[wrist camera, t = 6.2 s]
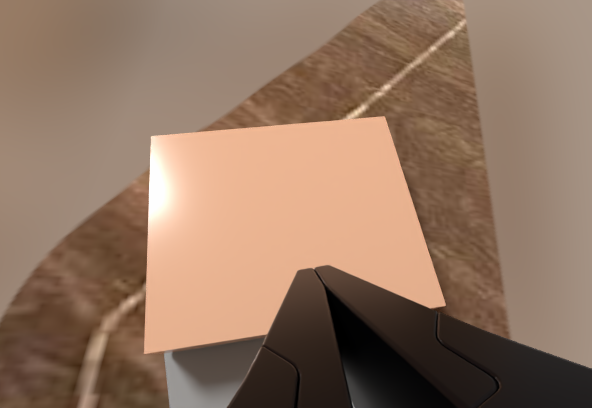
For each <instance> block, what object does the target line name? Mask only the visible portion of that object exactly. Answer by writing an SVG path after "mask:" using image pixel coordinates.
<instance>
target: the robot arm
mask: <svg viewBox="0 0 592 408" xmlns="http://www.w3.org/2000/svg"><path fill="white" fill-rule="evenodd" d="M351 400H352V401H351ZM352 402H353V405H354V407H355V408H592V369H591V368H588V367H586V366H583V365H580V364H577V363H574V362H571V361H569V360H566V359H563V358H560V357H557V356H554V355H552V354H549V353H546V352H543V351H540V350H537V349H534V348H532V347H529V346H526V345H523V344H520V343H517V342H515V341H512V340H509V339H507V338H504V337H501V336H498V335H496V334H493V333H490V332H487V331H485V330H482V329H480V328H477V327H475V326H472V325H470V324H467V323H465V322H463V321H460V320H458V319H455V318H453V317H451V316H448V315H446V314H444V313H441V312H439V313H437V311H435V310H433V309H430V308H428V307H426V306H423V305H421V304H419V303H416V302H414V301H412V300H409V299H407V298H405V297H403V296H400V295H398V294H396V293H393V292H391V291H389V290H386V289H384V288H382V287H379V286H377V285H375V284H372V283H370V282H368V281H365V280H363V279H361V278H358V277H356V276H354V275H351V274H349V273H347V272H344V271H342V270H340V269H337V268H335V267H333V266H330V265H324V266H318V267H315V268H314V269H313V268H307V269H301V270H298V271H297V272H296V275H295V277H294V279H293V281H292V283H291V285H290V287H289V289H288V291H287V293H286V296H285V298H284V300H283V302H282V304H281V306H280V308H279V310H278V312H277V314H276V316H275V319H274V321H273V323H272V325H271V327H270V329H269V331H268V333H267V335H266V337H265V340H264V342H263V344H262V346H261V348H260V349H259V351H258V353H257V355H256V357H255V359H254V361H253V363H252V365H251V367H250V369H249V371H248V373H247V375H246V376H245V378H244V380H243V382H242V384H241V385H240V387H239V388H238V390H237V392H236V393H235V395H234V396H233V398H232V400H231V401H230V403H229V404H228V406H227V408H353V405H352Z"/></svg>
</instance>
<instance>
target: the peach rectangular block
mask: <svg viewBox="0 0 592 408" xmlns="http://www.w3.org/2000/svg"><path fill="white" fill-rule="evenodd" d="M324 265H330V266H333V267H335V268H337V269H340V270H342V271H344V272H347V273H349V274H351V275H354V276H356V277H358V278H361V279H363V280H365V281H368V282H370V283H372V284H375V285H377V286H379V287H382V288H384V289H386V290H389V291H391V292H393V293H396V294H398V295H400V296H403V297H405V298H407V299H409V300H412V301H414V302H416V303H419V304H421V305H423V306H426V307H428V308H430V309H435V308H439V307H443V306H446V304H445V301H444V298H443V294H442V291H441V288H440V285H439V282H438V279H437V276H436V273H435V270H434V267H433V264H432V261H431V258H430V254H429V251H428V248H427V245H426V242H425V239H424V236H423V233H422V230H421V227H420V224H419V221H418V217H417V214H416V211H415V208H414V205H413V202H412V199H411V196H410V193H409V190H408V187H407V184H406V181H405V177H404V174H403V171H402V168H401V165H400V162H399V159H398V156H397V153H396V150H395V147H394V144H393V140H392V137H391V134H390V131H389V128H388V125H387V122H386V119H385V116H384V117H372V118H360V119H348V120H337V121H325V122H313V123H301V124H289V125H278V126H266V127H254V128H242V129H230V130H219V131H207V132H195V133H183V134H172V135H160V136H151V159H150V190H149V221H148V251H147V282H146V313H145V344H144V354H163V353H171V352H178V351H184V350H190V349H196V348H202V347H209V346H215V345H221V344H227V343H234V342H240V341H246V340H252V339H258V338H265V337H266V335H267V333H268V331H269V329H270V327H271V325H272V323H273V321H274V319H275V316H276V314H277V312H278V310H279V308H280V306H281V304H282V302H283V300H284V298H285V296H286V293H287V291H288V289H289V287H290V285H291V283H292V281H293V279H294V277H295V275H296V272H297V271H298V270H301V269H307V268H313V269H314V268H315V267H318V266H324Z"/></svg>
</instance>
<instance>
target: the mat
mask: <svg viewBox="0 0 592 408" xmlns="http://www.w3.org/2000/svg"><path fill="white" fill-rule="evenodd" d="M264 340H265V338H258V339H252V340H246V341H240V342H234V343H227V344H221V345H215V346H209V347H202V348H196V349H190V350H184V351H178V352H171V353H164V357H165V366H166V376H167V385H168V395H169V404H170V408H227V406H228V404H229V403H230V401H231V400H232V398H233V396H234V395H235V393H236V392H237V390H238V388H239V387H240V385H241V384H242V382H243V380H244V378H245V376H246V375H247V373H248V371H249V369H250V367H251V365H252V363H253V361H254V359H255V357H256V355H257V353H258V351H259V349H260V348H261V346H262V344H263V342H264ZM351 401H352V400H351ZM352 405H353V402H352ZM353 408H355V407H354V405H353Z"/></svg>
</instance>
